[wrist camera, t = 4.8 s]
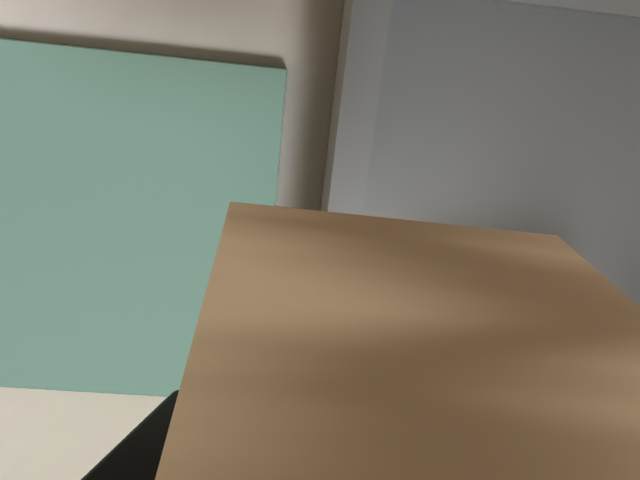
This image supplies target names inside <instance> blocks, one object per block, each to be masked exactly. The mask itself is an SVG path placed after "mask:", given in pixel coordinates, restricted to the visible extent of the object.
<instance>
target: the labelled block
mask: <svg viewBox="0 0 640 480" xmlns="http://www.w3.org/2000/svg"><path fill="white" fill-rule="evenodd" d="M155 480H640V307H638V306H637V305H636V304H635V303H634V302H633V301H632V300H630V299H629V298H628V297H627V296H626V295H625V294H624V293H622V292H621V291H620V290H619V289H618V288H617V287H616V286H614V285H613V284H612V283H611V282H610V281H609V280H608V279H607V278H605V277H604V276H603V275H602V274H601V273H600V272H599V271H597V270H596V269H595V268H594V267H593V266H592V265H591V264H589V263H588V262H587V261H586V260H585V259H584V258H583V257H581V256H580V255H579V254H578V253H577V252H576V251H575V250H573V249H572V248H571V247H570V246H569V245H568V244H567V243H566V242H564V241H563V240H562V239H561V238H560V237H559V236H558V235H549V234H539V233H530V232H520V231H510V230H501V229H491V228H481V227H472V226H462V225H453V224H443V223H433V222H424V221H414V220H404V219H395V218H385V217H375V216H366V215H356V214H347V213H337V212H327V211H318V210H308V209H298V208H289V207H279V206H269V205H260V204H250V203H241V202H231V201H230V204H229V208H228V211H227V215H226V219H225V222H224V226H223V230H222V234H221V237H220V241H219V245H218V248H217V252H216V256H215V259H214V263H213V267H212V270H211V274H210V278H209V282H208V285H207V289H206V293H205V296H204V300H203V304H202V307H201V311H200V315H199V319H198V322H197V326H196V330H195V333H194V337H193V341H192V344H191V348H190V352H189V355H188V359H187V363H186V367H185V370H184V374H183V378H182V381H181V385H180V389H179V392H178V396H177V400H176V404H175V407H174V411H173V415H172V418H171V422H170V426H169V429H168V433H167V437H166V440H165V444H164V448H163V452H162V455H161V459H160V463H159V466H158V470H157V474H156V477H155Z"/></svg>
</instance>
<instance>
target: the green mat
mask: <svg viewBox="0 0 640 480" xmlns="http://www.w3.org/2000/svg"><path fill="white" fill-rule="evenodd" d="M286 75H287V69H285V68H276V67H266V66H257V65H248V64H239V63H229V62H220V61H211V60H201V59H192V58H183V57H174V56H164V55H155V54H146V53H137V52H127V51H118V50H109V49H99V48H90V47H81V46H72V45H62V44H53V43H44V42H35V41H25V40H16V39H7V38H0V387H12V388H28V389H45V390H62V391H79V392H95V393H112V394H129V395H146V396H163V397H168V396H169V395H170V394H171V393H172V392H174V391H176V390H179V389H180V385H181V381H182V378H183V374H184V370H185V367H186V363H187V359H188V355H189V352H190V348H191V344H192V341H193V337H194V333H195V330H196V326H197V322H198V319H199V315H200V311H201V307H202V304H203V300H204V296H205V293H206V289H207V285H208V282H209V278H210V274H211V270H212V267H213V263H214V259H215V256H216V252H217V248H218V245H219V241H220V237H221V234H222V230H223V226H224V222H225V219H226V215H227V211H228V208H229V204H230V201H231V202H241V203H250V204H260V205H269V206H275V204H276V193H277V181H278V169H279V157H280V145H281V134H282V122H283V110H284V98H285V86H286Z"/></svg>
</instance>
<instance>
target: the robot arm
mask: <svg viewBox="0 0 640 480" xmlns="http://www.w3.org/2000/svg"><path fill="white" fill-rule="evenodd" d="M178 392H179V390H176V391H174V392H172V393H171V394H170V395H169V396H168V397H167V398H166V399H165V400H164V401H163V402H162V403H161V404H160V405H159V406H158V407H157V408H156V409H155V410H154V411H152V412H151V413H150V414H149V415H148V416H147V417H146V418H145V419H144V420H143V421H142V422H141V423H140V424H139V425H138V426H137V427H136V428H135V429H134V430H133V431H131V432H130V433H129V434H128V435H127V436H126V437H125V438H124V439H123V440H122V441H121V442H120V443H119V444H118V445H117V446H116V447H115V448H114V449H113V450H112V451H111V452H109V453H108V454H107V455H106V456H105V457H104V458H103V459H102V460H101V461H100V462H99V463H98V464H97V465H96V466H95V467H94V468H93V469H92V470H91V471H90V472H89V473H87V474H86V475H85V476H84V477H83V478H82V479H81V480H155V477H156V474H157V470H158V466H159V463H160V459H161V455H162V452H163V448H164V444H165V440H166V437H167V433H168V429H169V426H170V422H171V418H172V415H173V411H174V407H175V404H176V400H177V396H178Z"/></svg>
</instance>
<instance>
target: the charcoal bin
mask: <svg viewBox="0 0 640 480" xmlns="http://www.w3.org/2000/svg"><path fill="white" fill-rule="evenodd" d="M320 211H327V212H337V213H347V214H356V215H366V216H375V217H385V218H395V219H404V220H414V221H424V222H433V223H443V224H453V225H462V226H472V227H481V228H491V229H501V230H510V231H520V232H530V233H539V234H549V235H558V236H559V237H560V238H561V239H562V240H563V241H564V242H566V243H567V244H568V245H569V246H570V247H571V248H572V249H573V250H575V251H576V252H577V253H578V254H579V255H580V256H581V257H583V258H584V259H585V260H586V261H587V262H588V263H589V264H591V265H592V266H593V267H594V268H595V269H596V270H597V271H599V272H600V273H601V274H602V275H603V276H604V277H605V278H607V279H608V280H609V281H610V282H611V283H612V284H613V285H614V286H616V287H617V288H618V289H619V290H620V291H621V292H622V293H624V294H625V295H626V296H627V297H628V298H629V299H630V300H632V301H633V302H634V303H635V304H636V305H637V306H638V307H640V0H345V1H344V10H343V19H342V27H341V36H340V45H339V53H338V62H337V71H336V79H335V88H334V97H333V105H332V114H331V123H330V131H329V140H328V149H327V157H326V166H325V175H324V183H323V192H322V201H321V209H320Z"/></svg>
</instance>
